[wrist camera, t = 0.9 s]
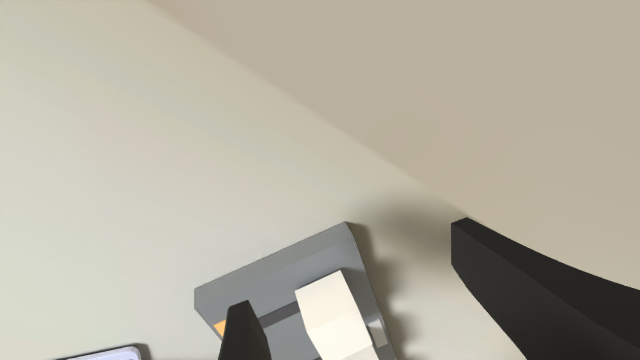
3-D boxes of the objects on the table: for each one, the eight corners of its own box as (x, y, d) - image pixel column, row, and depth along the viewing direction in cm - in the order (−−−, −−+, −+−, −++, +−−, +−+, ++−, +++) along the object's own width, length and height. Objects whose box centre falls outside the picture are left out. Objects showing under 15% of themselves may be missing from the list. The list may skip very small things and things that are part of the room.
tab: (354, 304, 24) (372, 344, 22) (313, 324, 24) (326, 366, 21) (340, 270, 22) (358, 309, 20) (294, 291, 22) (306, 333, 19)
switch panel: (400, 374, 34) (408, 391, 33) (301, 422, 33) (306, 442, 32) (345, 221, 23) (354, 237, 21) (194, 289, 22) (194, 309, 21)
